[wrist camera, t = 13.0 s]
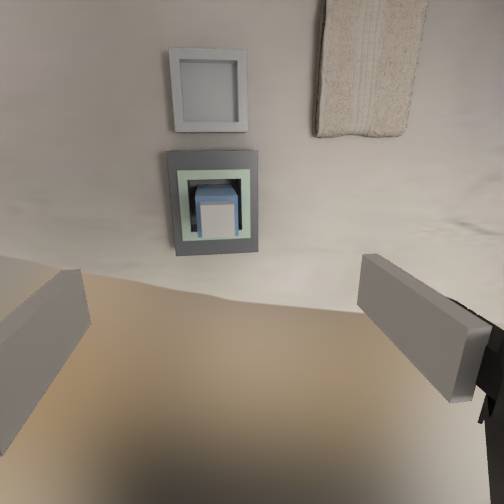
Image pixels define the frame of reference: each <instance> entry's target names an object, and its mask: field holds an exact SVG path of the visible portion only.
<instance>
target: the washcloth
mask: <svg viewBox="0 0 504 504" xmlns="http://www.w3.org/2000/svg"><path fill="white" fill-rule="evenodd" d="M427 4H428V0H323V2H322V7H321V19H320V34H319V47H318V60H317V74H316V93H315V104H314V115H313V133H314V136H315V137H320V138H325V137H326V138H327V137H338V136H343V135H346V134H347V135H349V134H351V135H363V136H367V137H387V136H388V137H398V136H401V135H402V134H403V133H404V132H405V131H404V130H405V128H407V124H406V122H407V119H408V113H409V107H410V104H411V100H410V99H411V95H412V93H413V92H412V91H413V90H412V88H413V82H414V79H415V73H416V68H417V64H418V63H419V62H418V56H419V51H420V45H421V41H422V31H423V24H424V22H425V20H424V19H425V14H426V8H427Z"/></svg>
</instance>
